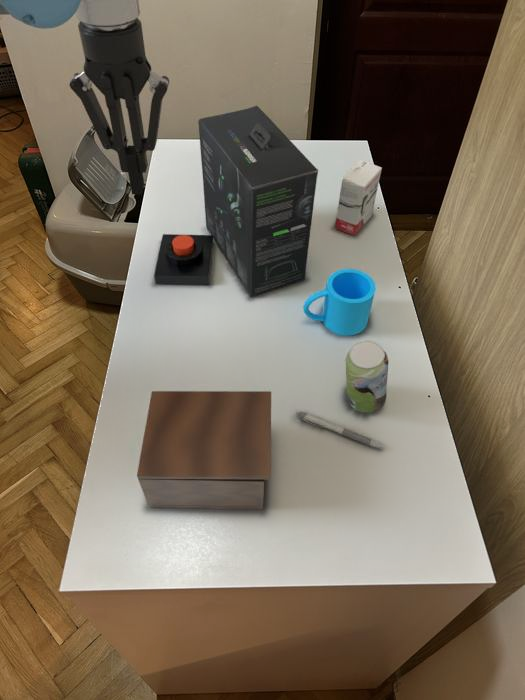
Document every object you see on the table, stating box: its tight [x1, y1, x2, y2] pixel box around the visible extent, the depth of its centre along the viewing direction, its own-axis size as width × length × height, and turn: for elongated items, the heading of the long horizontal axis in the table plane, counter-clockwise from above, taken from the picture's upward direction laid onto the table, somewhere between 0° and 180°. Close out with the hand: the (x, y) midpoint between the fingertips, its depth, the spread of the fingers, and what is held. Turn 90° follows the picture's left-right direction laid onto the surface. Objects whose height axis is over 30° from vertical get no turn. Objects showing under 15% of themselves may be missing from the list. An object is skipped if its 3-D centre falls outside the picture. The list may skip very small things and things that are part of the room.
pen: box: [295, 411, 385, 449], centre depth 80 cm, size 1×14×1 cm, turn 65°
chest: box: [137, 478, 265, 511], centre depth 73 cm, size 16×13×9 cm
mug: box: [302, 268, 377, 337], centre depth 91 cm, size 12×8×8 cm
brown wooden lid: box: [136, 390, 272, 481], centre depth 69 cm, size 16×13×1 cm
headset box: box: [197, 105, 319, 298], centre depth 95 cm, size 22×12×26 cm, turn 26°
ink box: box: [334, 159, 383, 236], centre depth 108 cm, size 9×5×12 cm, turn 147°
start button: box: [172, 234, 194, 255], centre depth 100 cm, size 4×4×2 cm
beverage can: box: [345, 340, 389, 413], centre depth 79 cm, size 6×7×12 cm
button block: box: [153, 233, 215, 286], centre depth 102 cm, size 10×12×4 cm
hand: (138, 189), depth 82 cm, fingers closed
